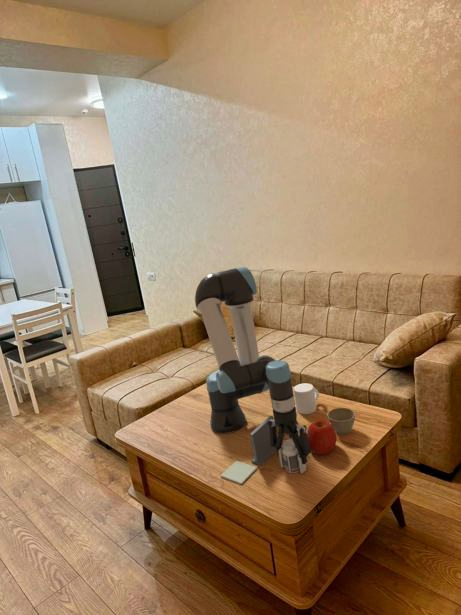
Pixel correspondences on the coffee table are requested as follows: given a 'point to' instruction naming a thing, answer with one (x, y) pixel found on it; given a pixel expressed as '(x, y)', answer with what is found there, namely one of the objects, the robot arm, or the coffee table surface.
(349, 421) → the flower pot
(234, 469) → the mat
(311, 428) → the apple
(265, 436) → the screen
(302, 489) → the coffee table surface
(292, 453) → the pill bottle
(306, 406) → the mug
